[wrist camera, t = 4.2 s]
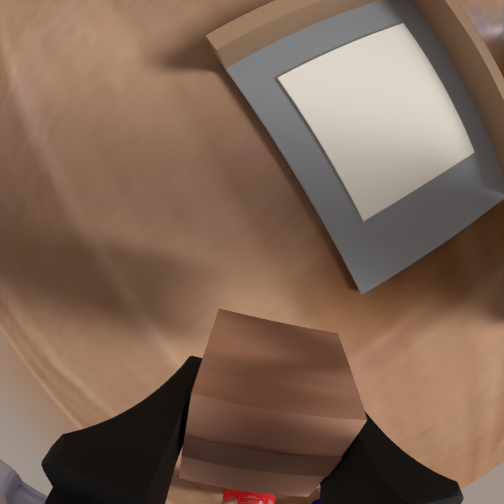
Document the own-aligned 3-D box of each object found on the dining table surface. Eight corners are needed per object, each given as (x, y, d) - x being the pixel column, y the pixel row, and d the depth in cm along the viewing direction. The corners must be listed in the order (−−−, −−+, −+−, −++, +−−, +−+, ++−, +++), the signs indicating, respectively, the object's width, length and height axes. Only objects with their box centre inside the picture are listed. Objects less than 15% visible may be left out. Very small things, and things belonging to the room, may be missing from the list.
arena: (510, 187, 15) (543, 195, 12) (359, 291, 18) (377, 318, 14) (402, -16, 12) (422, -41, 8) (217, 59, 14) (205, 35, 11)
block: (337, 333, 12) (368, 422, 7) (301, 414, 14) (308, 498, 9) (218, 308, 12) (190, 395, 7) (201, 395, 13) (178, 480, 9)
